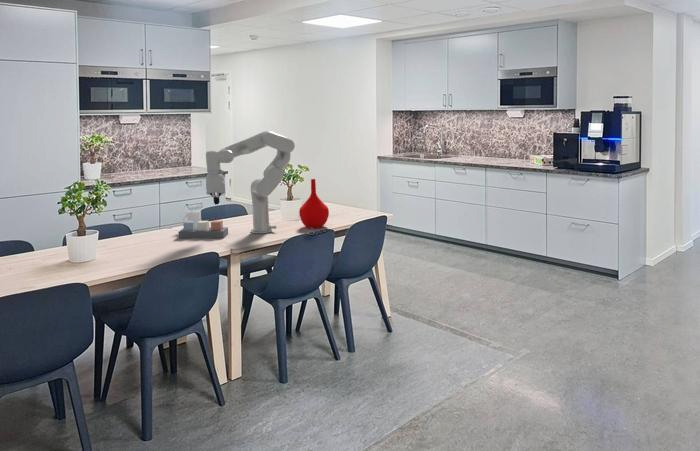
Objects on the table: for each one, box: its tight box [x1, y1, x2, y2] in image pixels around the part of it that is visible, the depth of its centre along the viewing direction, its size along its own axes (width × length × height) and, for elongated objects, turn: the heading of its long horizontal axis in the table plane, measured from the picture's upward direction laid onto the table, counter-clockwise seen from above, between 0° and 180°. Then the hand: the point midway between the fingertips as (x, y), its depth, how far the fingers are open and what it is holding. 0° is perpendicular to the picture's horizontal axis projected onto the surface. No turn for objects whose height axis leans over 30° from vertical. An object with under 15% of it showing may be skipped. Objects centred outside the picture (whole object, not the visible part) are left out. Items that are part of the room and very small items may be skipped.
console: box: [177, 226, 229, 240], centre depth 355 cm, size 26×12×4 cm, turn 89°
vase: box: [298, 178, 330, 229], centre depth 376 cm, size 18×18×30 cm
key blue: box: [182, 220, 196, 231], centre depth 355 cm, size 6×6×6 cm
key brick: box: [210, 220, 224, 230], centre depth 354 cm, size 6×6×6 cm
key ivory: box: [197, 220, 210, 231], centre depth 355 cm, size 6×6×6 cm
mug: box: [183, 209, 202, 228], centre depth 370 cm, size 12×8×12 cm
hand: (216, 204), depth 352 cm, fingers closed
